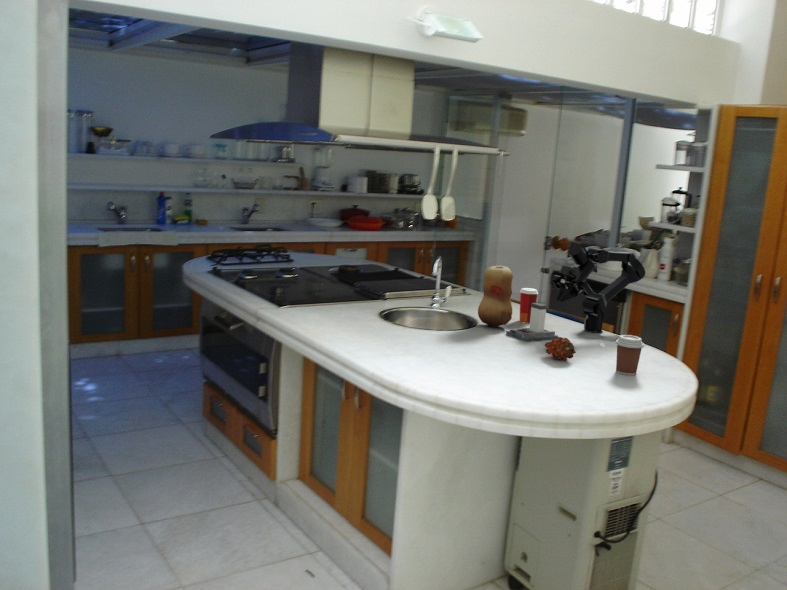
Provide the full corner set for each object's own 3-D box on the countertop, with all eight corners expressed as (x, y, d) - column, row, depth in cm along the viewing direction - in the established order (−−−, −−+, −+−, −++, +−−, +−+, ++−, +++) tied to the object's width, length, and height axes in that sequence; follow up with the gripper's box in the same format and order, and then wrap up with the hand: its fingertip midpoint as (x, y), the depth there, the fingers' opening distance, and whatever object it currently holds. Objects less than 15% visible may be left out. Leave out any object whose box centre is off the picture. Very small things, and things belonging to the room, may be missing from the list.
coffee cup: (618, 366, 248) (622, 332, 245) (644, 373, 242) (649, 338, 240) (607, 371, 241) (611, 336, 238) (634, 378, 235) (638, 342, 233)
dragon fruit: (572, 368, 247) (544, 364, 256) (584, 351, 251) (556, 348, 260) (563, 350, 244) (535, 347, 253) (575, 333, 248) (547, 330, 257)
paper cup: (534, 320, 312) (537, 288, 310) (536, 324, 305) (539, 291, 302) (516, 318, 313) (519, 287, 310) (517, 322, 305) (520, 290, 303)
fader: (537, 330, 287) (540, 302, 285) (546, 334, 283) (549, 305, 281) (525, 331, 284) (528, 303, 282) (534, 335, 280) (537, 306, 278)
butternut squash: (474, 328, 290) (480, 266, 285) (478, 321, 303) (484, 262, 298) (509, 332, 287) (515, 270, 282) (512, 325, 300) (518, 265, 295)
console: (536, 331, 292) (537, 325, 291) (557, 338, 282) (558, 332, 281) (506, 334, 284) (506, 328, 283) (526, 341, 274) (527, 335, 273)
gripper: (556, 255, 294) (533, 283, 290) (590, 262, 278) (566, 292, 275) (568, 273, 299) (545, 301, 296) (602, 282, 284) (579, 311, 280)
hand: (558, 301), depth 286 cm, fingers closed
